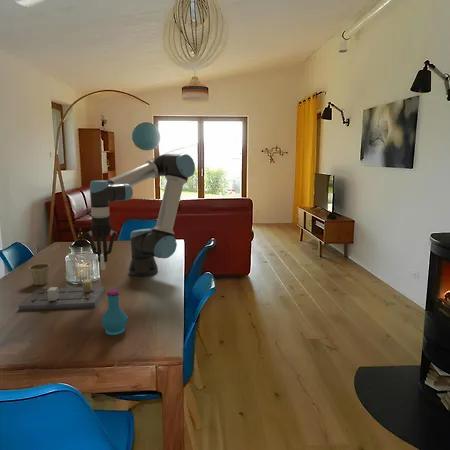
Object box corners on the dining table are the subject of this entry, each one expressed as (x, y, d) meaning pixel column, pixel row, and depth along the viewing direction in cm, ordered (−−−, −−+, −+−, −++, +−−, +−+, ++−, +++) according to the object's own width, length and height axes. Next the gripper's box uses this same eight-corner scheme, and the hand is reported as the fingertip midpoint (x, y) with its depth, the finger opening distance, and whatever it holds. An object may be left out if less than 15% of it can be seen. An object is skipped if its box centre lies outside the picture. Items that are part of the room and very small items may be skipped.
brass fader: (92, 288, 179) (91, 279, 178) (90, 291, 175) (89, 282, 174) (85, 289, 178) (85, 279, 178) (83, 292, 174) (82, 282, 174)
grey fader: (58, 297, 169) (57, 287, 168) (55, 300, 165) (54, 290, 164) (51, 297, 168) (50, 287, 168) (48, 300, 165) (47, 290, 164)
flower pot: (43, 287, 188) (41, 269, 186) (26, 286, 190) (24, 268, 188) (55, 281, 197) (54, 264, 195) (38, 279, 199) (37, 263, 197)
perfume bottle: (104, 325, 146) (102, 286, 143) (130, 324, 147) (128, 286, 144) (99, 337, 137) (96, 295, 134) (126, 335, 138) (124, 295, 135)
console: (104, 290, 183) (104, 285, 183) (95, 307, 163) (94, 301, 163) (37, 293, 180) (36, 287, 180) (19, 310, 160) (18, 304, 160)
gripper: (117, 215, 176) (119, 266, 180) (87, 215, 174) (90, 267, 178) (114, 217, 168) (116, 271, 172) (82, 217, 167) (86, 271, 171)
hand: (103, 269), depth 175 cm, fingers closed
